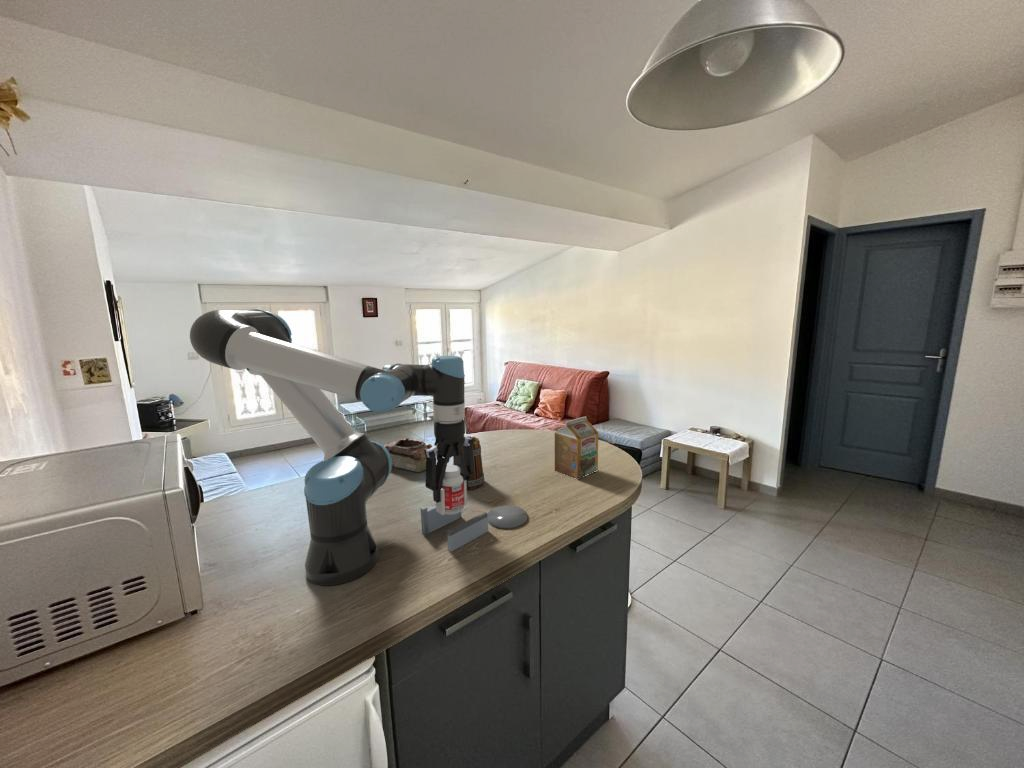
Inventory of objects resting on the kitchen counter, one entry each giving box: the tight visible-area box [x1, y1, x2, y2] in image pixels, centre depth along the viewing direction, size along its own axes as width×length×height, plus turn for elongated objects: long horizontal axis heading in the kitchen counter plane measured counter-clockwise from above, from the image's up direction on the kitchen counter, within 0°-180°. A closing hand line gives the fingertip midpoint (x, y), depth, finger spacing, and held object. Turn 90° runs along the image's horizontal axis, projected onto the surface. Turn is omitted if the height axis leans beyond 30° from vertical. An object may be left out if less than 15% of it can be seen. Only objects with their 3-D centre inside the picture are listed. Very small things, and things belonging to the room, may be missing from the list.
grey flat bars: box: [420, 504, 489, 553], centre depth 100 cm, size 12×12×7 cm
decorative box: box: [383, 437, 433, 473], centre depth 144 cm, size 13×20×10 cm, turn 56°
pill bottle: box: [442, 464, 465, 515], centre depth 99 cm, size 6×6×11 cm
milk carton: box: [554, 416, 599, 480], centre depth 136 cm, size 11×11×19 cm
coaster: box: [487, 504, 528, 530], centre depth 107 cm, size 11×11×1 cm
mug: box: [436, 435, 485, 491], centre depth 129 cm, size 16×11×15 cm
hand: (451, 507), depth 100 cm, fingers closed on pill bottle, 6 cm apart
